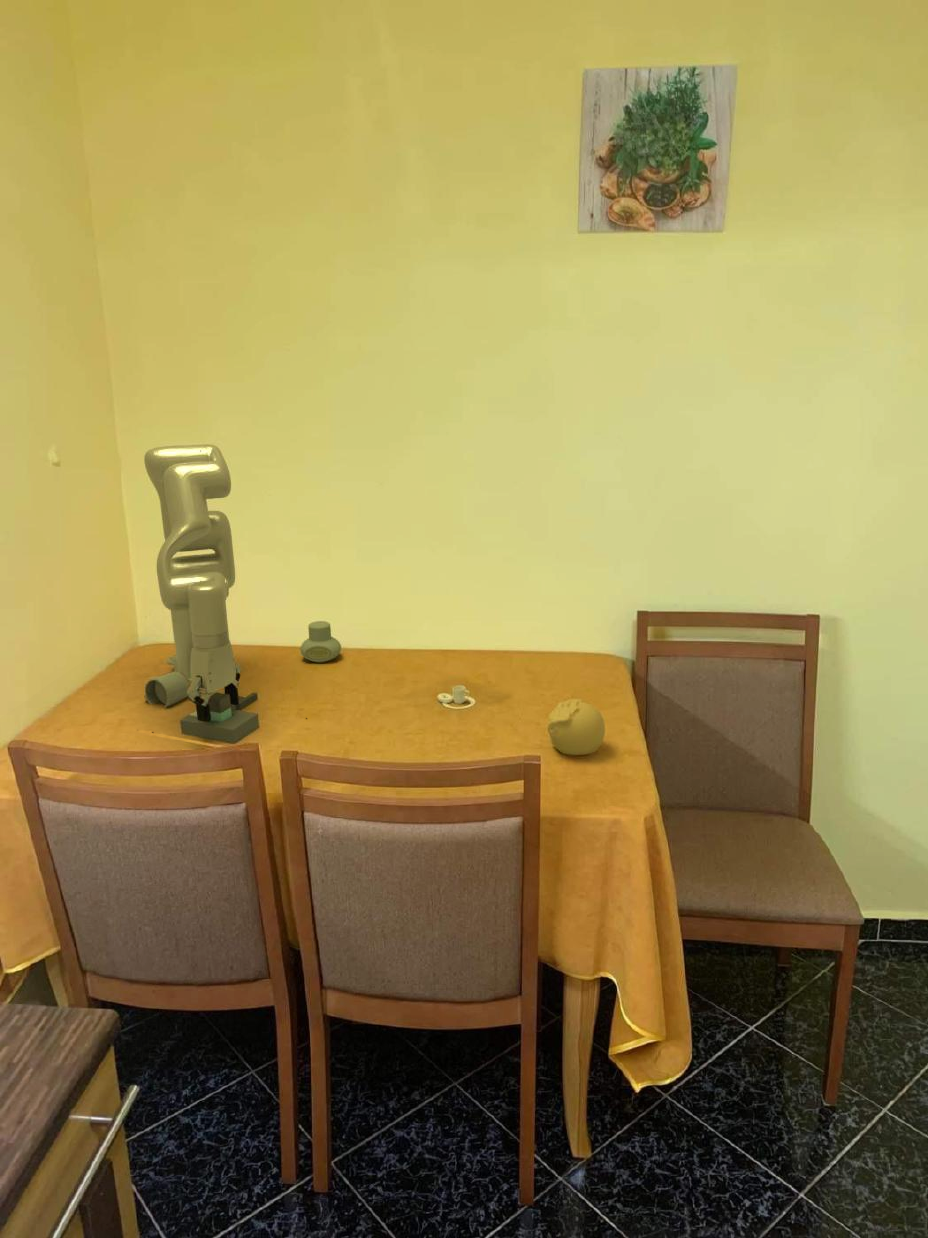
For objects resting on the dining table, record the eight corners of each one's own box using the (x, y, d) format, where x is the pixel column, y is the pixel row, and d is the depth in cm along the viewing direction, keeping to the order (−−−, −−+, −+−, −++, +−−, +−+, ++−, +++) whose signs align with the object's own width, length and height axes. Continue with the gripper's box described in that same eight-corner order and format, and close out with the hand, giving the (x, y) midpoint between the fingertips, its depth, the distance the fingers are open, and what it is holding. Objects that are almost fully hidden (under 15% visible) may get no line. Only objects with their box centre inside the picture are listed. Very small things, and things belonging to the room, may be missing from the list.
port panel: (182, 736, 191) (179, 719, 189) (208, 720, 199) (206, 703, 197) (234, 747, 186) (232, 729, 184) (259, 730, 193) (257, 712, 192)
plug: (210, 731, 191) (206, 698, 188) (220, 725, 194) (216, 692, 191) (223, 734, 189) (219, 700, 187) (232, 728, 192) (229, 694, 190)
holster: (215, 709, 205) (214, 699, 204) (233, 698, 211) (233, 689, 210) (240, 713, 202) (239, 704, 201) (258, 702, 208) (257, 693, 208)
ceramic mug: (194, 700, 210) (190, 670, 208) (169, 712, 203) (165, 681, 201) (161, 693, 215) (157, 664, 212) (136, 705, 208) (132, 675, 205)
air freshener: (298, 664, 233) (296, 629, 230) (304, 653, 240) (301, 619, 237) (339, 664, 233) (337, 628, 230) (343, 653, 241) (341, 619, 237)
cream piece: (432, 703, 208) (432, 687, 206) (455, 693, 213) (455, 678, 212) (459, 713, 202) (459, 697, 201) (482, 703, 208) (482, 687, 206)
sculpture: (552, 734, 190) (553, 688, 187) (607, 740, 187) (609, 694, 183) (541, 757, 180) (542, 709, 176) (599, 764, 176) (601, 716, 173)
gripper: (221, 624, 194) (229, 695, 199) (169, 649, 179) (178, 725, 184) (249, 628, 191) (256, 700, 197) (199, 654, 176) (207, 730, 181)
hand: (218, 712), depth 190 cm, fingers open, 9 cm apart
